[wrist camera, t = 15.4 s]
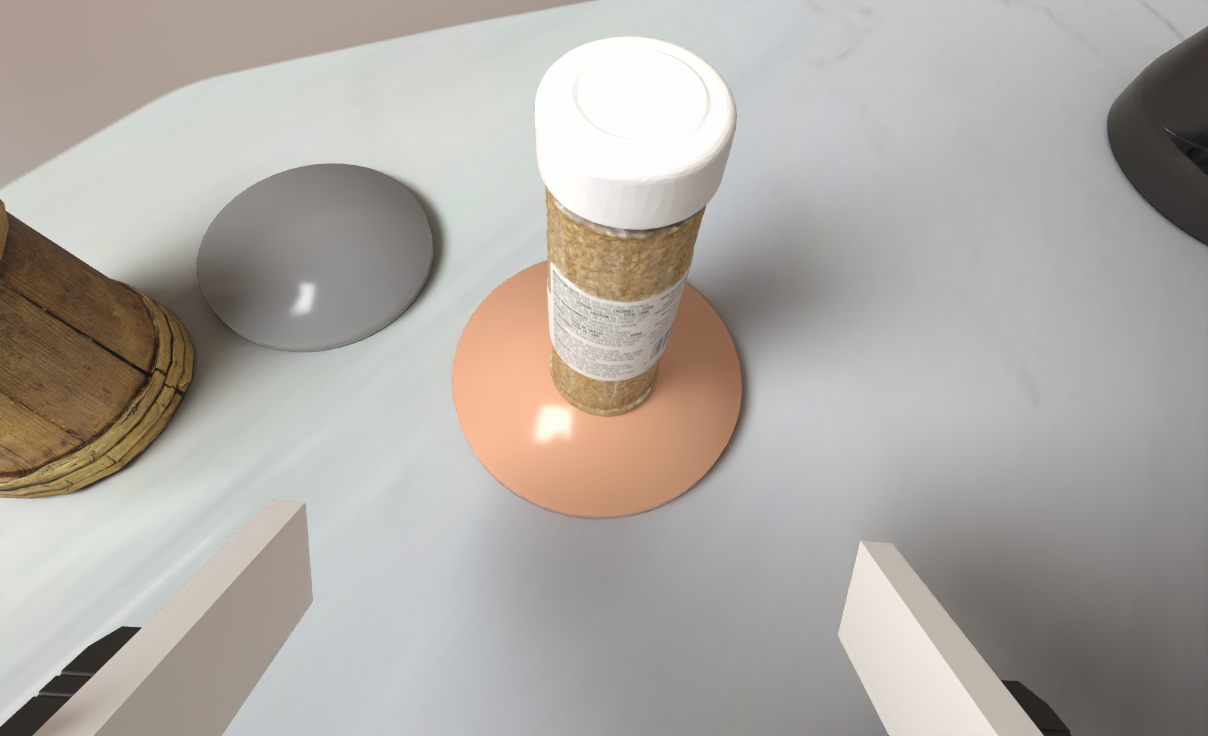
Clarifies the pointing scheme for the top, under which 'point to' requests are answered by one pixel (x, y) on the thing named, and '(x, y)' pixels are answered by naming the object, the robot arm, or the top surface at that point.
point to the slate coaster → (316, 257)
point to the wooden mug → (78, 367)
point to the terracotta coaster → (580, 440)
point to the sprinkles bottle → (624, 206)
